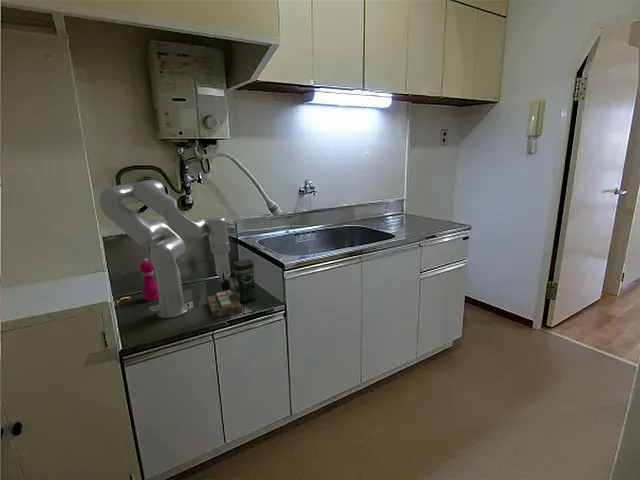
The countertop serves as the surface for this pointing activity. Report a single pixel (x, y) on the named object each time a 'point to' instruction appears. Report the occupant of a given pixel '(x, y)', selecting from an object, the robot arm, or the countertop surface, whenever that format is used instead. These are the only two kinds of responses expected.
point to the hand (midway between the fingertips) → (226, 289)
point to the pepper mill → (149, 281)
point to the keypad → (219, 312)
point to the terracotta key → (221, 294)
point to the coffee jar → (244, 280)
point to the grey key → (223, 298)
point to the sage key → (225, 304)
